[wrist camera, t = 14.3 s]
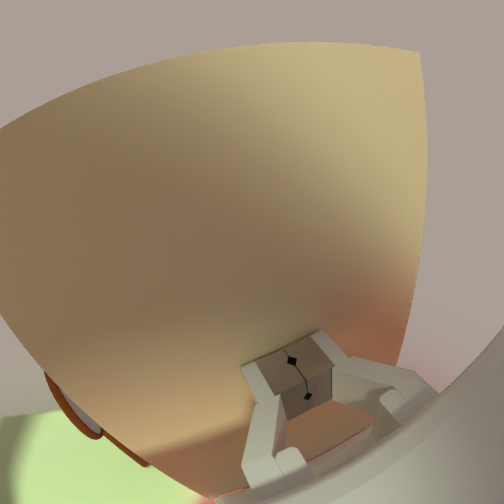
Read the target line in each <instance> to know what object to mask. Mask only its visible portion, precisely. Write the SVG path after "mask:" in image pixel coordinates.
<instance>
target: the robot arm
mask: <svg viewBox="0 0 504 504" xmlns="http://www.w3.org/2000/svg"><path fill="white" fill-rule="evenodd" d="M240 369H241V371H242V374H243V376H244V379H245V381H246V384H247V386H248V389H249V391H250V393H251V396H252V398H253V400H254V402H255V404H256V405H254V409H253V413H252V418H251V423H250V427H249V432H248V437H247V441H246V446H245V450H244V454H243V459H242V463H241V467H242V470H243V472H244V474H245V476H246V479H247V481H248V483H249V485H250V488H251V490H252V492H253V494H254V496H255V498H256V500H257V502H258V503H255V504H504V326H503V328H502V329H501V330H500V331H499V333H498V334H497V335H496V336H495V337H494V339H493V340H492V341H491V342H490V343H489V344H488V346H487V347H486V348H485V349H484V350H483V351H482V352H481V353H480V355H479V356H478V357H477V358H476V359H475V360H474V361H473V362H472V363H471V364H470V365H469V366H468V367H467V368H466V369H465V370H464V371H463V372H462V373H461V374H460V375H459V376H458V377H457V378H456V379H455V380H454V381H453V382H452V383H451V384H450V385H449V386H448V387H447V388H446V389H444V391H442V392H441V393H440V394H439V393H438V392H437V391H436V390H435V389H433V388H432V387H431V386H430V385H429V384H428V383H427V382H426V381H425V380H424V379H423V378H422V377H420V375H418V374H417V373H416V372H415V371H413V370H409V369H404V368H400V367H395V366H391V365H387V364H383V363H379V362H375V361H371V360H367V359H363V358H359V357H355V356H352V357H350V358H349V357H348V356H347V355H346V354H345V353H344V352H343V351H342V349H341V348H340V347H339V346H338V345H337V344H336V343H335V342H334V341H333V340H332V339H331V338H330V337H329V336H328V335H327V334H326V332H325V331H323V330H320V331H318V332H316V333H314V334H312V335H310V336H308V337H305V338H303V339H301V340H299V341H297V342H295V343H293V344H291V345H289V346H287V347H285V348H282V349H281V350H279V351H277V352H274V353H272V354H269V355H267V356H264V357H262V358H260V359H257V360H255V361H252V362H250V363H247V364H245V365H242V366H240ZM330 399H332V400H334V401H336V402H339V403H341V404H344V405H346V406H348V407H351V408H353V409H356V410H358V411H361V412H363V413H366V414H368V415H371V416H374V417H375V420H374V423H373V427H372V431H371V434H372V435H373V437H374V438H375V439H376V440H377V443H375V444H374V445H372V446H370V447H369V448H367V449H366V450H364V451H363V452H361V453H359V454H358V455H356V456H354V457H353V458H351V459H349V460H348V461H346V462H344V463H342V464H341V465H339V466H337V467H335V468H333V469H332V470H330V471H328V472H326V473H324V474H322V475H320V476H318V477H315V475H314V474H313V472H312V471H311V469H310V468H309V466H308V464H307V463H306V461H305V460H304V458H303V457H302V455H301V453H300V452H299V450H298V449H297V448H295V447H289V448H287V449H286V439H287V428H288V421H289V420H291V419H293V418H295V417H297V416H299V415H301V414H303V413H305V412H306V411H308V410H309V409H312V408H314V407H316V406H318V405H320V404H322V403H324V402H326V401H328V400H330Z"/></svg>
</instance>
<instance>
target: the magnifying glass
mask: <svg viewBox="0 0 504 504" xmlns="http://www.w3.org/2000/svg"><path fill="white" fill-rule="evenodd" d="M44 374H45V377H46V380H47V383H48V385H49V388H50V390H51V392H52V394H53V396H54V398H55V399H56V401H57V403H58V404H59V406H60V407H61V409H62V410H63V412H64V413H65V415H66V416H67V417H68V418H69V420H70V421H71V422H72V423H73V424H74V425H75V426H76V427H77V428H78V429H79V430H80V431H81V432H82V433H83V434H85V435H86V436H87V437H89V438H91V439H94V440H97V439H100V438H101V437H102V436H103V435H104V436H105V437H106V438H107V439H109V440H110V441H111V442H112V443H113V444H114V445H116V446H117V447H118V448H119V449H120V450H122V451H123V452H124V453H125V454H127V455H128V456H129V457H131V458H132V459H133V460H134V461H136V462H137V463H138V464H140V465H141V466H142V467H146V468H149V467H150V466H151V465H150V464H149V463H148V462H146V461H145V460H143V459H142V458H141V457H139V456H138V455H136V454H135V453H134V452H132V451H131V450H130V449H128V448H127V447H126V446H124V445H123V444H122V443H120V442H119V441H118V440H117V439H115V438H114V437H113V436H112V435H110V434H109V433H108V432H107V431H105V430H104V429H103V428H102V427H101V426H100V425H98V424H97V423H96V422H95V421H94V420H93V419H92V418H90V417H89V416H88V415H87V414H86V413H85V412H84V411H83V410H82V409H81V408H80V407H79V406H77V405H76V404H75V403H74V402H73V401H72V400H71V399H70V398H69V397H68V396H67V395H66V394H65V393H64V392H63V391H62V390H61V389H60V388H59V386H58V385H57V384H56V383H55V382H54V381H53V380H52V379H51V378H50V377H49V376H48V375H47V373H46V372H45V371H44Z"/></svg>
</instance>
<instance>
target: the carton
mask: <svg viewBox="0 0 504 504" xmlns="http://www.w3.org/2000/svg"><path fill="white" fill-rule="evenodd" d="M372 427H373V424H372V425H371V426H369V427H368V428H366V429H365V430H363V431H361V432H360V433H358V434H357V435H355V436H353V437H352V438H350V439H348V440H347V441H345V442H343V443H342V444H340V445H338V446H336V447H335V448H333V449H331V450H329V451H328V452H326V453H324V454H322V455H320V456H318V457H316V458H314V459H312V460H310V461H308V462H306V463H307V464H308V466H309V468H310V469H311V471H312V472H313V474H314V475H315V477H318V476H320V475H322V474H324V473H326V472H328V471H330V470H332V469H333V468H335V467H337V466H339V465H341V464H342V463H344V462H346V461H348V460H349V459H351V458H353V457H354V456H356V455H358V454H359V453H361V452H363V451H364V450H366V449H367V448H369V447H370V446H372V445H374V444H375V443H377V440H376V439H375V438H374V437H373V435H372V434H371V431H372ZM214 501H215V504H255V503H258V502H257V500H256V498H255V496H254V494H253V492H252V490H251V488H250V487H248V488H246V489H243V490H240V491H237V492H234V493H231V494H228V495H225V496H222V497H219V498H215V499H214Z"/></svg>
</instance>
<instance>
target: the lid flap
mask: <svg viewBox="0 0 504 504" xmlns="http://www.w3.org/2000/svg"><path fill="white" fill-rule="evenodd" d="M426 189H427V121H426V105H425V94H424V85H423V76H422V68H421V61H420V54H419V52H416V51H410V50H404V49H398V48H391V47H383V46H375V45H365V44H353V43H334V42H293V43H292V42H289V43H271V44H257V45H247V46H239V47H231V48H225V49H224V48H223V49H217V50H211V51H205V52H199V53H194V54H189V55H184V56H180V57H176V58H171V59H167V60H163V61H159V62H155V63H151V64H148V65H144V66H141V67H137V68H134V69H131V70H127V71H124V72H121V73H118V74H115V75H112V76H109V77H107V78H104V79H101V80H98V81H96V82H93V83H91V84H88V85H85V86H83V87H81V88H78V89H76V90H74V91H71V92H69V93H67V94H64V95H62V96H60V97H58V98H56V99H54V100H51V101H49V102H47V103H45V104H43V105H41V106H39V107H37V108H35V109H34V110H32V111H30V112H28V113H26V114H24V115H23V116H21V117H19V118H17V119H16V120H14V121H12V122H10V123H9V124H7V125H5V126H4V127H2V128H1V129H0V314H1V316H2V317H3V319H4V320H5V321H6V323H7V324H8V326H9V327H10V329H11V330H12V331H13V333H14V334H15V335H16V337H17V338H18V339H19V341H20V342H21V343H22V344H23V346H24V347H25V348H26V349H27V351H28V352H29V353H30V355H31V356H32V357H33V358H34V360H36V362H37V363H38V364H39V365H40V367H41V368H42V369H43V370H44V371H45V372H46V373H47V375H48V376H49V377H50V378H51V379H52V380H53V381H54V382H55V383H56V384H57V385H58V386H59V388H60V389H61V390H62V391H63V392H64V393H65V394H66V395H67V396H68V397H69V398H70V399H71V400H72V401H73V402H74V403H75V404H76V405H77V406H79V407H80V408H81V409H82V410H83V411H84V412H85V413H86V414H87V415H88V416H89V417H90V418H92V419H93V420H94V421H95V422H96V423H97V424H98V425H100V426H101V427H102V428H103V429H104V430H105V431H107V432H108V433H109V434H110V435H112V436H113V437H114V438H115V439H117V440H118V441H119V442H120V443H122V444H123V445H124V446H126V447H127V448H128V449H130V450H131V451H132V452H134V453H135V454H136V455H138V456H139V457H141V458H142V459H143V460H145V461H146V462H148V463H149V464H151V465H152V466H154V467H155V468H157V469H158V470H160V471H161V472H163V473H164V474H166V475H168V476H169V477H171V478H172V479H174V480H176V481H177V482H179V483H181V484H182V485H184V486H186V487H188V488H189V489H191V490H193V491H195V492H197V493H199V494H200V495H202V496H204V497H206V498H208V499H211V498H215V497H218V496H221V495H224V494H227V493H231V492H234V491H236V490H239V489H242V488H245V487H248V486H250V485H249V483H248V481H247V479H246V476H245V474H244V472H243V470H242V467H241V463H242V459H243V454H244V450H245V446H246V441H247V437H248V432H249V427H250V423H251V418H252V413H253V409H254V405H256V404H255V402H254V400H253V398H252V396H251V393H250V391H249V389H248V386H247V384H246V381H245V379H244V376H243V374H242V371H241V369H240V366H242V365H245V364H247V363H250V362H252V361H255V360H257V359H260V358H262V357H264V356H267V355H269V354H272V353H274V352H277V351H279V350H281V349H282V348H285V347H287V346H289V345H291V344H293V343H295V342H297V341H299V340H301V339H303V338H305V337H308V336H310V335H312V334H314V333H316V332H318V331H320V330H323V331H325V332H326V334H327V335H328V336H329V337H330V338H331V339H332V340H333V341H334V342H335V343H336V344H337V345H338V346H339V347H340V348H341V349H342V351H343V352H344V353H345V354H346V355H347V356H348V357H349V358H350V357H352V356H355V357H359V358H363V359H367V360H371V361H375V362H379V363H383V364H387V365H391V366H395V367H396V364H397V360H398V357H399V353H400V350H401V346H402V343H403V339H404V335H405V331H406V327H407V323H408V319H409V314H410V309H411V305H412V300H413V295H414V290H415V285H416V279H417V273H418V267H419V260H420V254H421V246H422V238H423V229H424V219H425V206H426ZM374 420H375V417H374V416H371V415H368V414H366V413H363V412H361V411H358V410H356V409H353V408H351V407H348V406H346V405H344V404H341V403H339V402H336V401H334V400H332V399H330V400H328V401H326V402H324V403H322V404H320V405H318V406H316V407H314V408H312V409H309V410H308V411H306V412H305V413H303V414H301V415H299V416H297V417H295V418H293V419H291V420H289V421H288V428H287V439H286V449H287V448H289V447H295V448H297V449H298V450H299V452H300V453H301V455H302V457H303V458H304V460H305V461H308V460H310V459H312V458H314V457H316V456H318V455H319V454H321V453H323V452H325V451H327V450H329V449H331V448H332V447H334V446H336V445H338V444H339V443H341V442H343V441H344V440H346V439H348V438H350V437H351V436H353V435H354V434H356V433H358V432H359V431H361V430H362V429H364V428H365V427H367V426H369V425H370V424H372V423H373V422H374Z"/></svg>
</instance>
